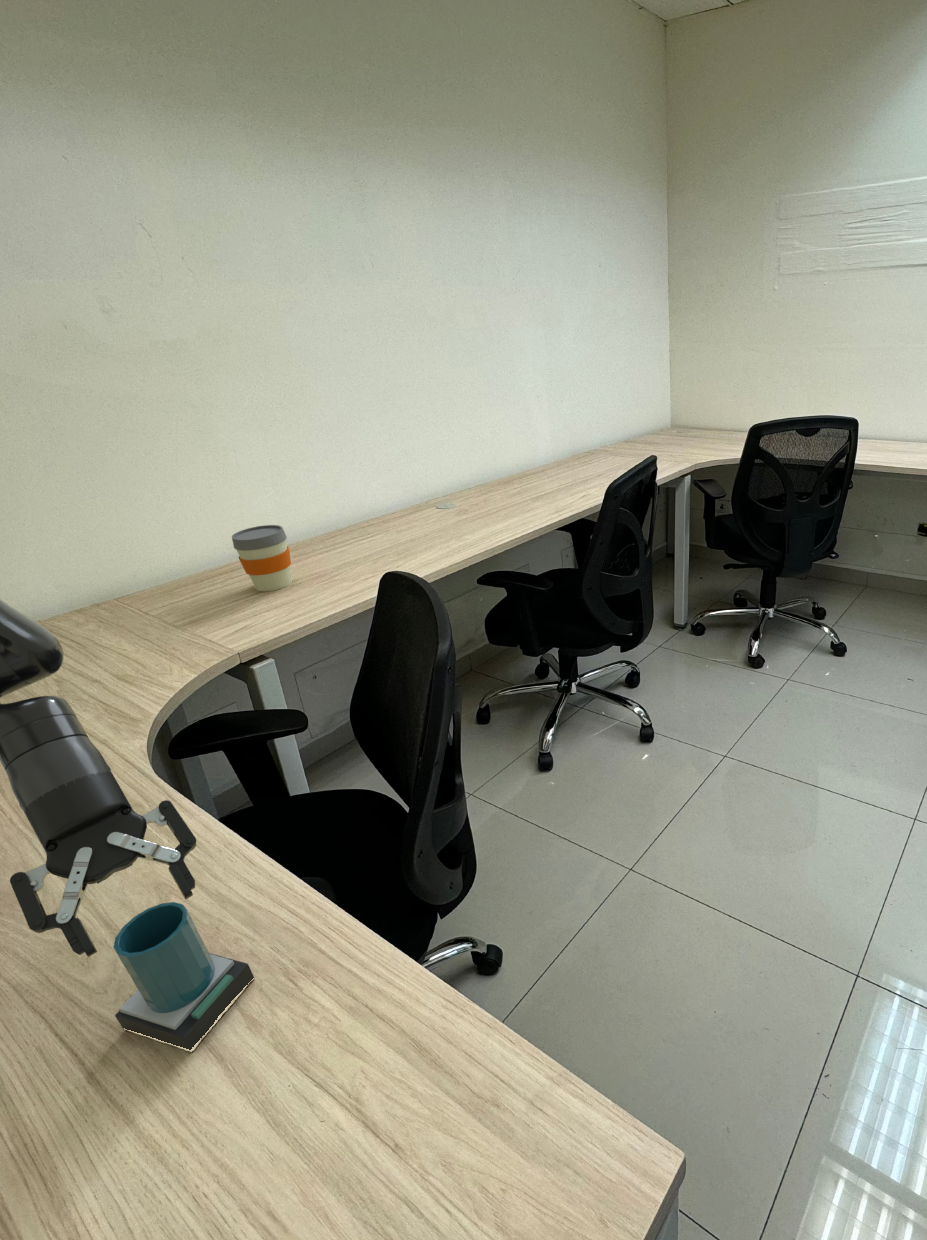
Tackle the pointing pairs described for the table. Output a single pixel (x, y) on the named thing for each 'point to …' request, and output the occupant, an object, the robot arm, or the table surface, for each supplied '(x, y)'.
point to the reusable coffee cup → (264, 556)
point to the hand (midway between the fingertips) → (143, 923)
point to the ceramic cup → (165, 957)
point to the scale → (188, 1007)
